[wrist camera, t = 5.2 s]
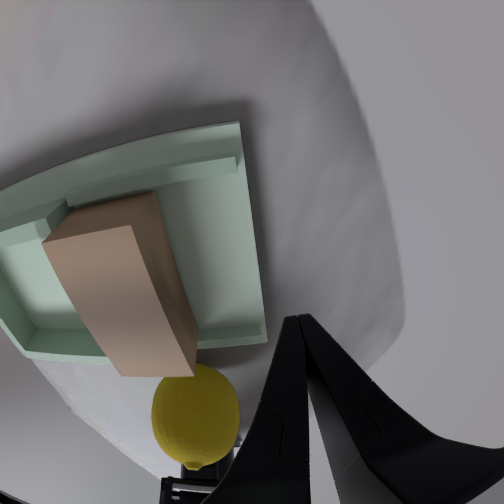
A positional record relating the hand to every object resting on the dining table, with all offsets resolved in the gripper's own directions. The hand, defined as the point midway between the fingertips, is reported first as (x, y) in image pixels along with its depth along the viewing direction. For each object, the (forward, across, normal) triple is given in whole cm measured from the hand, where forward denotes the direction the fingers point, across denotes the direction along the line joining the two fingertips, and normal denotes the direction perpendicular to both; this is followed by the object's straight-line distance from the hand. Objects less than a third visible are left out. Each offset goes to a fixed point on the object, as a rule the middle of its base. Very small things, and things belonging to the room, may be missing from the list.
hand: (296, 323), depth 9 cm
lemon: (+6, +6, +9) cm, 12 cm away
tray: (+5, +10, 0) cm, 11 cm away
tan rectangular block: (+4, +7, 0) cm, 8 cm away
